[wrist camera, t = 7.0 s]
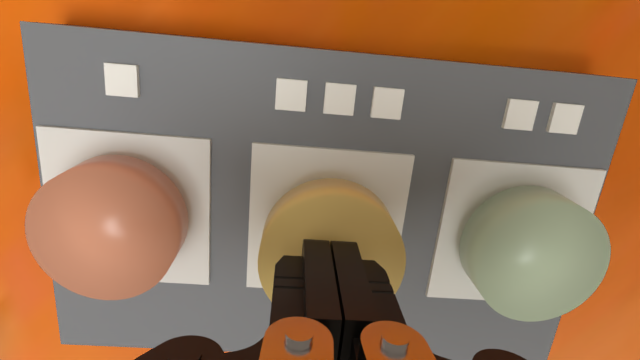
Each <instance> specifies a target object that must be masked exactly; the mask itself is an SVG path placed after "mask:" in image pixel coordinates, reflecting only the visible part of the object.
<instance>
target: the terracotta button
mask: <svg viewBox="0 0 640 360" xmlns="http://www.w3.org/2000/svg"><path fill="white" fill-rule="evenodd" d="M188 222H189V221H188V212H187V207H186V204H185V201H184V199H183V197H182V195H181V193H180V191H179V190H178V188H177V187H176V185H175V184H174V183H173V182H172V181H171V179H170V178H169V177H168V176H167V175H165V174H164V173H163V172H162V171H161V170H159V169H158V168H156V167H155V166H153V165H151V164H149V163H147V162H146V161H143V160H140V159H138V158H134V157H130V156H125V155H112V154H109V155H101V156H97V157H93V158H90V159H88V160H85V161H83V162H81V163H79V164H78V165H76V166H74V167H72V168H70V169H68V170H67V171H65V172H63V173H61V174H59V175H57V176H56V177H54V178H52V179H51V180H49V181H47V182H46V183H45V184H44V185H43V186H41V187H40V189H39V190H38V191H37V192H36V193H35V195H34V196H33V198H32V199H31V201H30V204H29V206H28V208H27V212H26V216H25V234H26V239H27V243H28V245H29V248H30V251H31V253H32V255H33V256H34V258H35V260H36V261H37V263H38V264H39V266H40V267H41V268H42V269H43V270H44V271H45V273H46V274H47V275H49V276H50V277H51V278H52V279H53V280H54V281H56V282H57V283H58V284H60V285H61V286H63V287H65V288H66V289H68V290H70V291H72V292H74V293H77V294H79V295H82V296H85V297H89V298H93V299H99V300H122V299H127V298H132V297H135V296H138V295H140V294H142V293H144V292H146V291H148V290H150V289H151V288H152V287H154V286H155V285H156V284H157V283H158V282H159V281H161V279H162V278H163V277H164V276H165V274H166V273H167V271H168V270H169V268H170V266H171V264H172V263H173V261H174V259H175V258H176V256H177V254H178V252H179V251H180V249H181V247H182V245H183V244H184V241H185V239H186V236H187V231H188Z"/></svg>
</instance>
